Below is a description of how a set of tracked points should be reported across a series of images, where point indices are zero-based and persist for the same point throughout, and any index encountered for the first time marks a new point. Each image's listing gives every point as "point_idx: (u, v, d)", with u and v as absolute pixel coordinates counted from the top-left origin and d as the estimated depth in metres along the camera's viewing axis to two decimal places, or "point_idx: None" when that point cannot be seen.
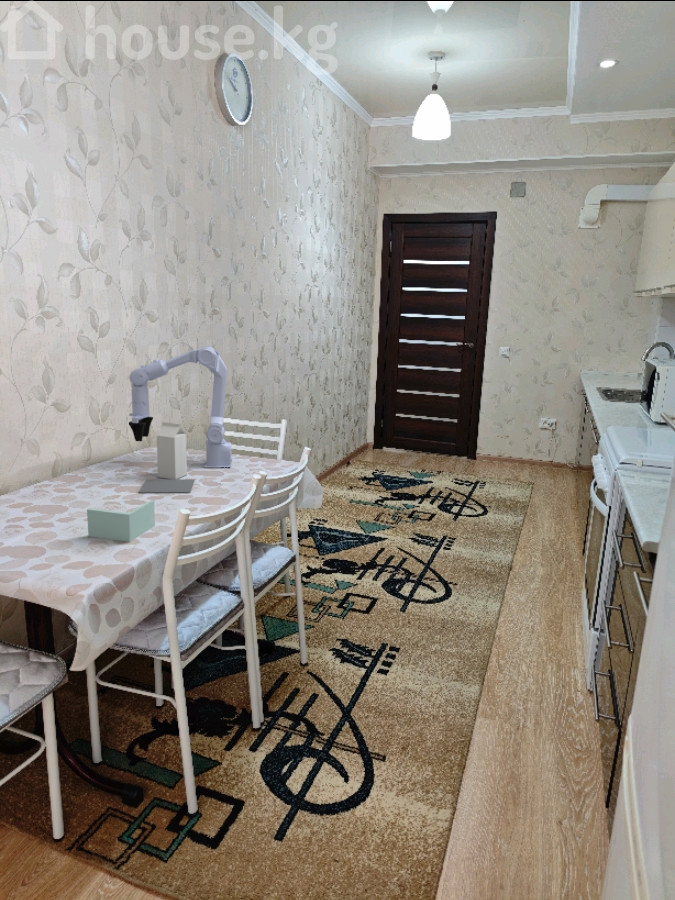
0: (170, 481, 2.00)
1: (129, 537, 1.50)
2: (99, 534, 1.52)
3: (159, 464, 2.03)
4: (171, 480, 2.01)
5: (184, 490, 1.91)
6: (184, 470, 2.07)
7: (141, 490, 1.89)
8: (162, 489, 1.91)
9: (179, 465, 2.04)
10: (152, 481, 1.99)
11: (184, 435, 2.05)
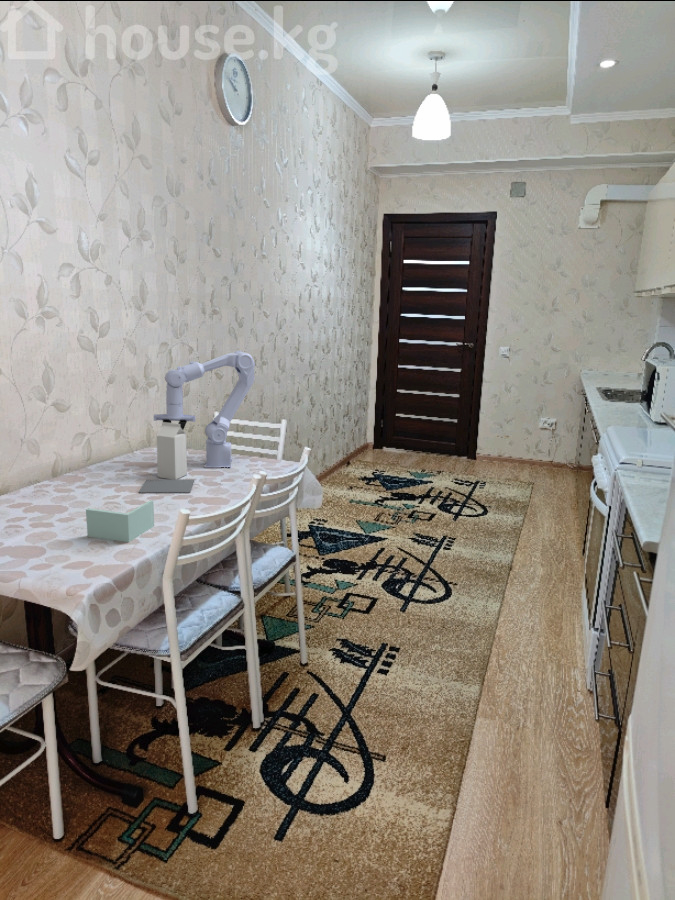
0: (170, 481, 2.00)
1: (128, 538, 1.50)
2: (98, 534, 1.51)
3: (159, 464, 2.03)
4: (171, 480, 2.01)
5: (184, 490, 1.91)
6: (184, 470, 2.07)
7: (141, 490, 1.89)
8: (162, 489, 1.91)
9: (179, 465, 2.04)
10: (152, 481, 1.99)
11: (184, 435, 2.05)
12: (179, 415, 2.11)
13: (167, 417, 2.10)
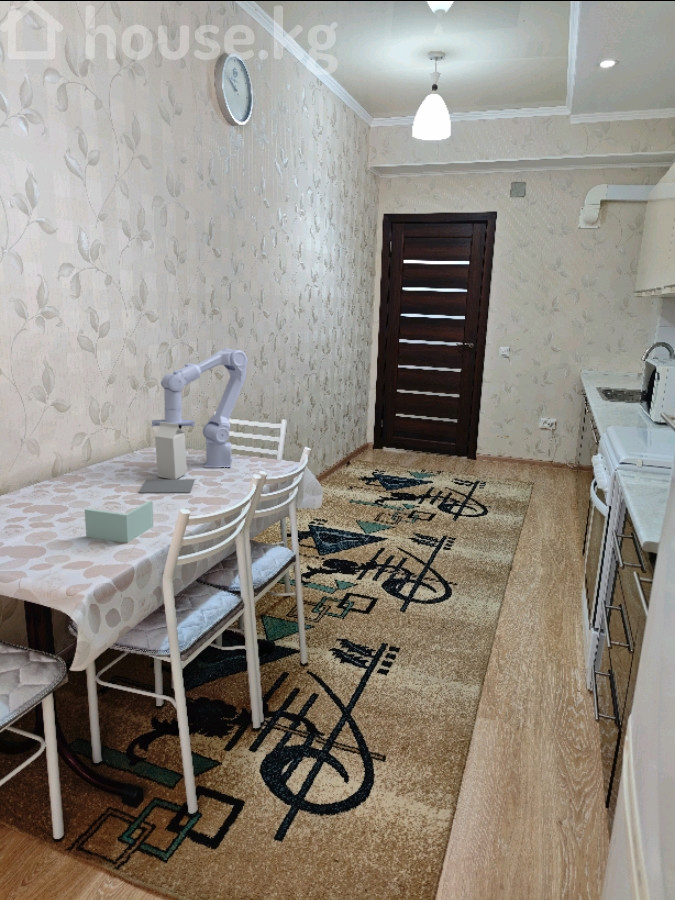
0: (170, 481, 2.00)
1: (126, 538, 1.49)
2: (97, 534, 1.51)
3: (158, 464, 2.03)
4: (171, 480, 2.01)
5: (184, 490, 1.91)
6: (184, 469, 2.07)
7: (141, 490, 1.89)
8: (162, 489, 1.91)
9: (179, 465, 2.04)
10: (152, 481, 1.99)
11: (183, 434, 2.03)
12: (178, 420, 2.06)
13: None
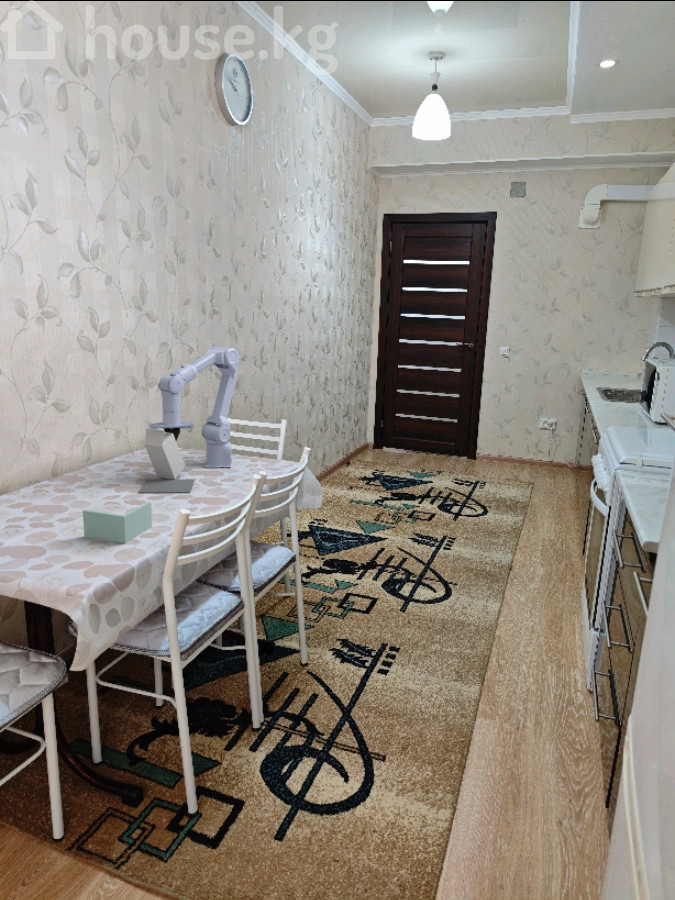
0: (170, 481, 2.00)
1: (124, 539, 1.49)
2: (95, 535, 1.51)
3: (155, 467, 2.01)
4: (171, 480, 2.01)
5: (184, 490, 1.91)
6: (181, 465, 2.05)
7: (141, 490, 1.89)
8: (162, 489, 1.91)
9: (175, 464, 2.02)
10: (152, 481, 1.99)
11: (171, 436, 1.98)
12: (178, 423, 2.02)
13: (165, 426, 2.01)
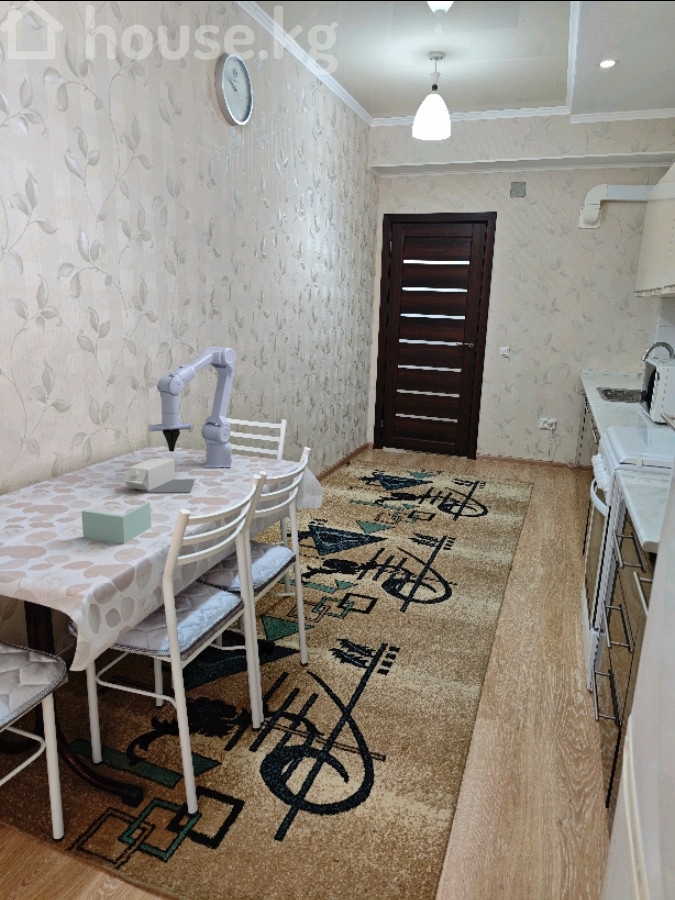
0: (170, 481, 2.00)
1: (123, 540, 1.49)
2: (94, 536, 1.51)
3: None
4: None
5: (184, 490, 1.91)
6: (171, 465, 1.99)
7: (141, 490, 1.89)
8: (162, 489, 1.91)
9: (167, 474, 1.98)
10: None
11: (148, 472, 1.88)
12: (177, 424, 2.00)
13: (165, 427, 1.99)
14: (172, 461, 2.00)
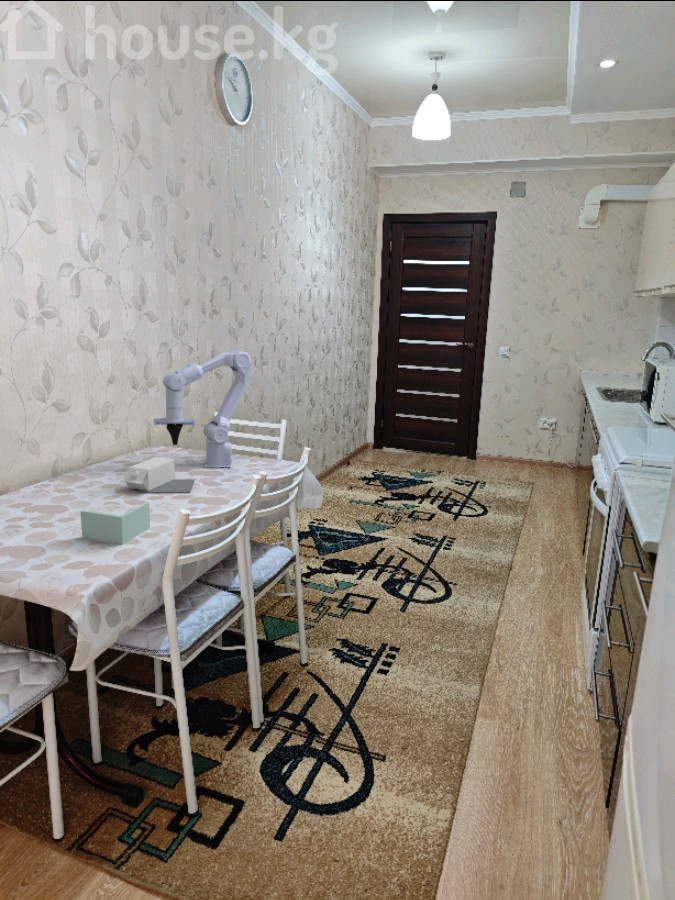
0: (170, 481, 2.00)
1: (122, 540, 1.48)
2: (92, 536, 1.50)
3: None
4: None
5: (184, 490, 1.91)
6: (171, 465, 1.99)
7: (141, 490, 1.89)
8: (162, 489, 1.91)
9: (167, 474, 1.98)
10: None
11: (148, 472, 1.88)
12: (179, 419, 2.09)
13: (167, 421, 2.08)
14: (172, 461, 2.00)
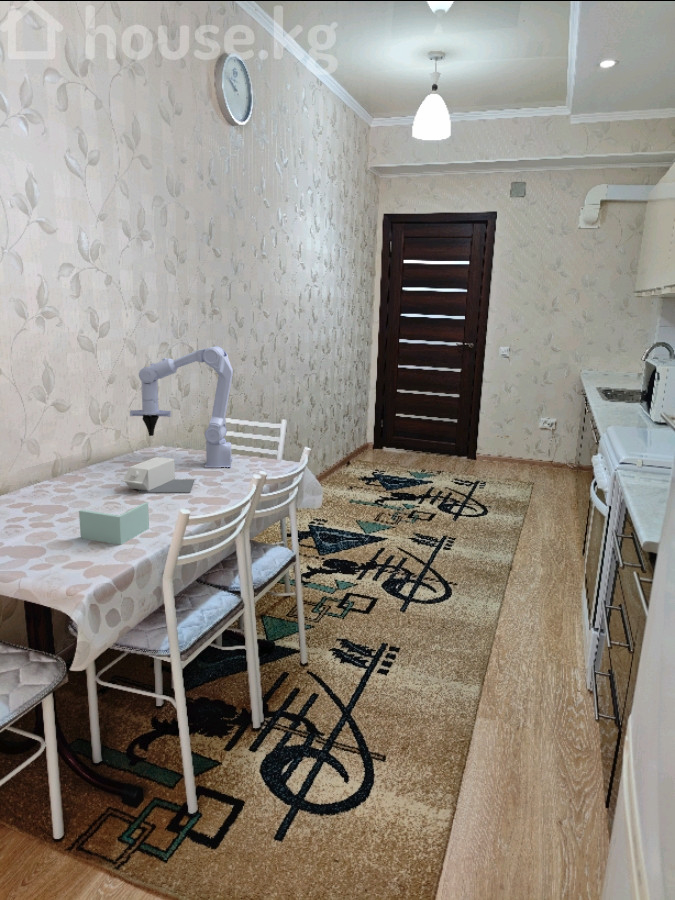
0: (170, 481, 2.00)
1: (120, 540, 1.48)
2: (91, 536, 1.50)
3: None
4: None
5: (184, 490, 1.91)
6: (171, 465, 1.99)
7: (141, 490, 1.89)
8: (162, 489, 1.91)
9: (167, 474, 1.98)
10: None
11: (148, 472, 1.88)
12: (154, 411, 2.17)
13: (143, 413, 2.17)
14: (172, 461, 2.00)
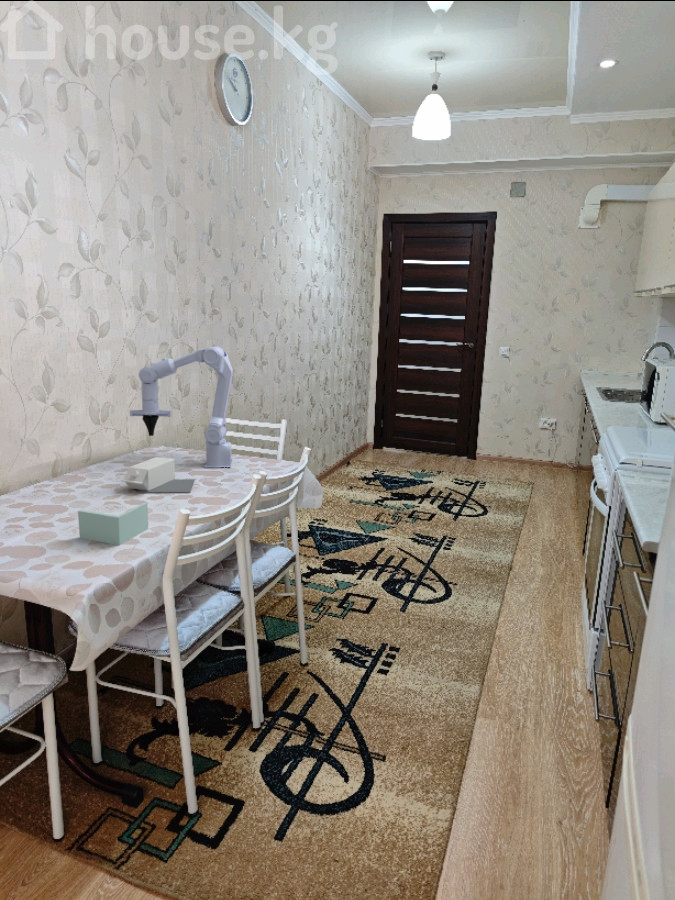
0: (170, 481, 2.00)
1: (119, 540, 1.48)
2: (90, 536, 1.50)
3: None
4: None
5: (184, 490, 1.91)
6: (171, 465, 1.99)
7: (141, 490, 1.89)
8: (162, 489, 1.91)
9: (167, 474, 1.98)
10: None
11: (148, 472, 1.88)
12: (154, 411, 2.17)
13: (143, 413, 2.17)
14: (172, 461, 2.00)
